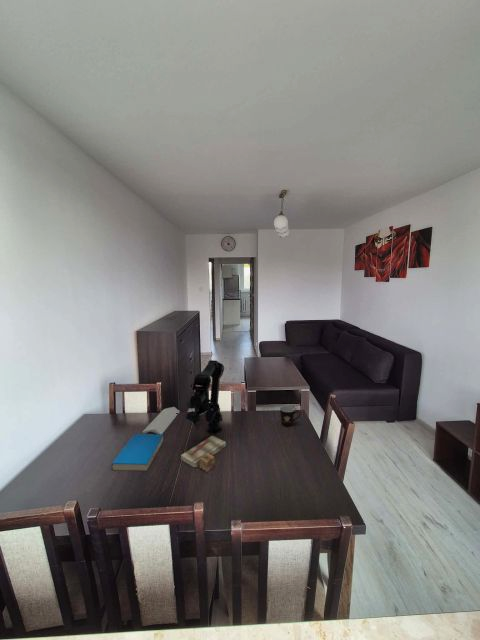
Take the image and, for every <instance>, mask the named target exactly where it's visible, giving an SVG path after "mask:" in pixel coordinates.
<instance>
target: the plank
mask: <svg viewBox="0 0 480 640" xmlns="http://www.w3.org/2000/svg"><path fill="white" fill-rule="evenodd" d="M206 440H209V442H208V443H206V444H205V445H204V446H203V447H202V448H200V449H199V450H198V451H197V452H196V453H194V454H193V455H190V453H192V452H193V451H194V450H195V449H197V448H198V447H199V446H200V445H202V444H203V443H204V442H205V441H206ZM226 445H227V442H226V441H225V440H222V439H220V438H218V437H216V436H214V435H211V436H209V437H208V438H206V439H205V440H203V441H202V442H200V443H198V444H197V445H195V446H193V447H191V448H190V449H189V450H187V451H185V452H184V453H182V454H181V455H180V460H181V461H182V462H184V463H186V464H188V465H189V466H191V467H192V468H194V467H196V468H198V465H199V458H200V457H202V456H203V455H204V454H206V453H208V454H210V455H212V456H214V455H215V454H217V453H218V452H220V451H221V450H223V449H224V448H225V447H226ZM199 466H200V465H199Z"/></svg>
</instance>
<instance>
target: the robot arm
mask: <svg viewBox="0 0 480 640" xmlns="http://www.w3.org/2000/svg"><path fill="white" fill-rule="evenodd" d="M224 372H225V366H224V365H223V363H221V362H219V361H218V360H214V359H210V360H208V362H207V365H206V366H205V367H204V368H203V370H202V371H200V372H198V373H196V375H195V376H194V378H193V379H194V380H193V384H192V391H194V392H193V394H192V396H190V399H189V402H187V408H188V409H191V410H192V411H189V412H188V413H186V415H185V416H186V417H185V419H186V420H189V421H190V422H192V423H193V425H194V427H195V431H197V432H198V431H199V430H200V423H201V419H200V417H201V416H200V415H202V414H203V415H204V416H205V420H206V421H205V422H208V428H207V429H206V431H208V432H209V433H212V434H214V435H215V434H217V433H218V432H220V431H222V430H223V428H222V427H221V422H223V414H222V413H221V408H220V404H219V397H220V395H219V394H220V393H219V392H220V383H221V382H220V380H221V378H222V377H223V374H224ZM210 387H211V388H210ZM209 389H210V393H209ZM209 394H210V395H209ZM209 396H210V398H209ZM193 409H195V411H193Z"/></svg>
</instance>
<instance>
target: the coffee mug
mask: <svg viewBox="0 0 480 640" xmlns="http://www.w3.org/2000/svg"><path fill="white" fill-rule="evenodd" d="M279 411H280V412H279V413H280V420H281V421H280V422H281V425H282V426H283V427H286V428H290V427H292V426H293V422H294V421H296V420H297V419H299V418H300V417H301V412H300V411H298V410H296V411H295V408H294V406H291V405H282V406H280V408H279ZM296 413H298V414H299V416H297V417H295V418H294V416H295V414H296Z"/></svg>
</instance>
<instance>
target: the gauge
mask: <svg viewBox="0 0 480 640" xmlns="http://www.w3.org/2000/svg"><path fill="white" fill-rule="evenodd" d="M215 463H216V462H215V456H214V455H213V456H212V455H210V454H208V453H206V454H204V455H203V456H202V457H200V458H199V468H200V469H201V468H202V469H201V470H203V471H204V470H205V472H206V473H208V472H210V471H211V470H212V469H213V468H214V467H215ZM210 469H211V470H210Z"/></svg>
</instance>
